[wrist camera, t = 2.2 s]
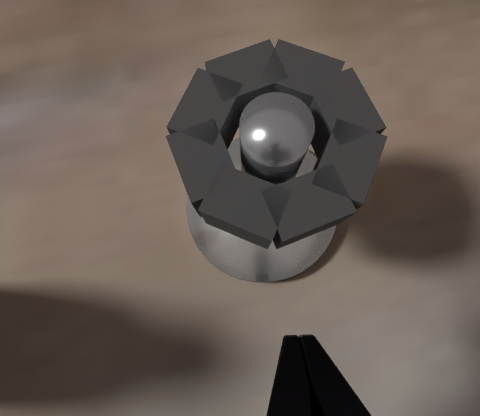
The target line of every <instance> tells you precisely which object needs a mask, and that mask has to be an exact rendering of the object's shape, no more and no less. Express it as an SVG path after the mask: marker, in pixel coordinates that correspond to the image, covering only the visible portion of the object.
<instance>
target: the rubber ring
mask: <svg viewBox="0 0 480 416" xmlns="http://www.w3.org/2000/svg"><path fill="white" fill-rule="evenodd" d="M344 63H345V62H344V61H341V60H338V59H335V58H332V57H329V56H326V55H324V54H321V53H318V52H315V51H312V50H309V49H306V48H303V47H300V46H297V45H294V44H291V43H288V42H285V41H282V40H278V42H277V44H276V46H275V48H274V47H273V45H272V43H271V41H270V39H269V40H266V41H263V42H261V43H258V44H255V45H252V46H249V47H246V48H244V49H241V50H238V51H235V52H232V53H229V54H227V55H224V56H221V57H218V58H215V59H212V60H210V61H207V62H205V66H206V71H205V70H202V69H200V68H198V69H197V71H196V72H195V74H194V76H193V78H192V80H191V82H190V84H189V86H188V88H187V89H186V91H185V93H184V95H183V97H182V99H181V101H180V103H179V105H178V106H177V108H176V110H175V112H174V114H173V116H172V118H171V120H170V122H169V123H168V125H167V129H168V131H169V133H170V135H167V136H166V138H167V140H168V143H169V146H170V148H171V151H172V154H173V156H174V159H175V162H176V164H177V167H178V170H179V172H180V175H181V178H182V180H183V183H184V186H185V188H186V191H187V194H188V196H189V199H190V202H191V204H192V205H193V207H194V208H195V210H196V211H197V213H198V214H199V216H200V218H201V217H203V219H204V221H205V222H206V224H208V225H211V226H213V227H216V228H218V229H220V230H223V231H225V232H227V233H230V234H232V235H234V236H237V237H239V238H242V239H244V240H246V241H249V242H251V243H253V244H256V245H258V246H260V247H263V248H265V249H268V248H269V246H270V244H271V242H272V240H273V243H274V245H275V247H276V249H279V248H281V247H284V246H286V245H289V244H291V243H294V242H296V241H299V240H301V239H304V238H306V237H308V236H311V235H313V234H316V233H318V232H321V231H323V230H326V229H328V228H331V227H333V226H335V225H338V224H339V223H341V222H342V221H344V220H345V219H347V218H348V217H349V216H351V215H352V214H354V213H355V212H357V211H356V209H358V208H359V207H361V206H362V205H364V202H365V200H366V197H367V194H368V191H369V188H370V185H371V182H372V179H373V177H374V174H375V171H376V168H377V165H378V162H379V159H380V156H381V153H382V151H383V148H384V145H385V142H386V139H387V136H384V135H382V134H381V133H382V132H383V131H384V130H385V128H386V126H385V124H384V122H383V121H382V119H381V117H380V115H379V114H378V112H377V110H376V108H375V107H374V105H373V103H372V101H371V100H370V98H369V96H368V94H367V93H366V91H365V89H364V87H363V86H362V84H361V82H360V80H359V79H358V77H357V75H356V73H355V72H354V70H353V68H349V69H347V70H344V71H341V70H342V68H343V65H344ZM271 92H282V93H287V94H290V95H293V96H295V97H297V98H299V99H300V100H301V101H303V102H304V103H305V104H306V105H307V107H308V108H309V109H310V111H311V113H312V115H313V118H314V122H315V132H314V136H313V139H312V141H311V145H312V147H313V149H314V151H315V153H316V155H317V157H318V158H317V161H316V163H315V166H314V169H313V171H312V172H309V173H306V174H304V175H301V176H299V177H296V178H294V179H291V180H289V181H286V182H283V183H281V184H278V185H275V184H272V183H270V182H267V181H265V180H262V179H260V178H257V177H255V176H252V175H250V174H247V173H245V172H242V171H240V170H237V169H235V166H234V164H233V162H232V159H231V157H230V155H229V152H228V148H229V146H230V144H231V142H232V140H233V137H234V135H235V133H236V131H237V129H238V127H239V122H240V117H241V114H242V112H243V110H244V108H245V107H246V106H247V104H248V103H249V102H250V101H252V100H253V99H254V98H256V97H258V96H260V95H262V94H266V93H271Z"/></svg>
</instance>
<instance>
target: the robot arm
mask: <svg viewBox="0 0 480 416" xmlns="http://www.w3.org/2000/svg"><path fill="white" fill-rule="evenodd" d="M267 416H371V414H370V413H369V412H368V410H367V409H366V407H365V406H364V405H363V403H362V402H361V400H360V399H359V398H358V396H357V395H356V393H355V392H354V391H353V389H352V388H351V386H350V385H349V384H348V382H347V381H346V379H345V378H344V377H343V375H342V374H341V372H340V371H339V370H338V368H337V367H336V365H335V364H334V363H333V361H332V360H331V359H330V357H329V356H328V354H327V353H326V352H325V350H324V349H323V347H322V346H321V345H320V343H319V342H318V340H317V339H316V338H315V336H313V335H300V336H299V337H298V336H297V335H285V336H284V337H283V341H282V346H281V351H280V355H279V360H278V365H277V369H276V374H275V379H274V383H273V388H272V393H271V397H270V402H269V407H268V411H267Z"/></svg>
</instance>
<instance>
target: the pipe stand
mask: <svg viewBox="0 0 480 416" xmlns="http://www.w3.org/2000/svg"><path fill="white" fill-rule="evenodd" d="M239 132H240V138H238V139H235V140H232V142H231V144H230V146H229V148H228V152H229V155H230V157H231V159H232V162H233V164H234V166H235V169H237V170H240V171H242V172H245V173H247V174H250V175H252V176H255V177H257V178H260V179H262V180H265V181H267V182H270V183H272V184H275V185H278V184H281V183H283V182H286V181H289V180H291V179H294V178H296V177H299V176H301V175H304V174H306V173H309V172H312V171H313V169H314V166H315V163H316V161H317V158H316V157H315V156H314V155H313V154H312V153H311V152H310V151H308V148H309V146H310V143H311V141H312V139H313V136H314V132H315V122H314V118H313V115H312V113H311V111H310V109H309V108H308V107H307V105H306V104H305V103H304V102H303V101H301V100H300V99H299V98H297V97H295V96H293V95H290V94H287V93H282V92H271V93H266V94H262V95H260V96H258V97H256V98H254V99H253V100H252V101H250V102H249V103H248V104H247V106H246V107H245V108H244V110H243V112H242V114H241V117H240V122H239ZM186 214H187V221H188V225H189V229H190V232H191V234H192V237H193V239H194V241H195V243H196V244H197V246H198V248H199V249H200V251H201V252H202V253H203V254H204V256H205V257H206V258H207V259H208V260H209V261H210V262H211V263H212V264H214V265H215V266H216V267H218V268H219V269H221V270H222V271H223V272H225V273H227V274H229V275H231V276H233V277H236V278H239V279H242V280H246V281H251V282H273V281H279V280H283V279H286V278H289V277H292V276H295V275H297V274H299V273H301V272H303V271H304V270H305V269H307V268H308V267H310V266H311V265H312V264H313V263H315V262H316V261H317V260H318V259H319V258H320V256H321V255H322V254H323V253H324V252H325V250H326V249H327V247H328V245H329V244H330V242H331V240H332V237H333V235H334V232H335V229H336V225H335V226H333V227H331V228H328V229H326V230H323V231H321V232H318V233H316V234H313V235H311V236H308V237H306V238H304V239H301V240H299V241H296V242H294V243H291V244H289V245H286V246H284V247H281V248H279V249H276V247H275V245H274V243H273V240H272V242H271V244H270V246H269V248H268V249H265V248H263V247H260V246H258V245H256V244H253V243H251V242H249V241H246V240H244V239H242V238H239V237H237V236H234V235H232V234H230V233H227V232H225V231H223V230H220V229H218V228H216V227H213V226H211V225H208V224H206V222H205V221H204V219H203V217H201V218H200V216H199V214H198V213H197V211H196V210H195V208H194V207H193V205H192V204H191V202H190V199H189V196H188V194H187V202H186Z"/></svg>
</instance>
